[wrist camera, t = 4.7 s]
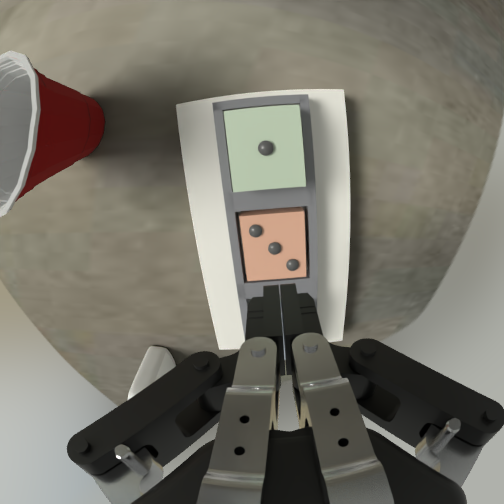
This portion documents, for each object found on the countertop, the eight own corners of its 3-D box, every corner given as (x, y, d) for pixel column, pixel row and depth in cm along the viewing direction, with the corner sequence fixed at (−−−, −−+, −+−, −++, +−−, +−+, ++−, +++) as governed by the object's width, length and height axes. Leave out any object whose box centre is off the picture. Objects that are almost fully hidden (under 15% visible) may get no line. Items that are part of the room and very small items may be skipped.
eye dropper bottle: (187, 356, 29) (161, 446, 18) (171, 380, 31) (146, 459, 20) (152, 339, 29) (114, 425, 18) (140, 365, 31) (107, 442, 20)
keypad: (183, 106, 19) (169, 102, 16) (336, 93, 18) (349, 86, 15) (221, 336, 28) (217, 360, 25) (338, 327, 27) (345, 350, 24)
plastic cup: (148, 76, 18) (55, 43, 7) (114, 195, 22) (21, 248, 11) (59, 66, 17) (-32, 56, 6) (36, 167, 21) (-52, 200, 10)
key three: (240, 210, 20) (239, 217, 19) (301, 205, 20) (304, 211, 18) (248, 271, 22) (247, 282, 21) (303, 267, 22) (306, 277, 20)
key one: (226, 113, 16) (223, 111, 14) (296, 107, 16) (299, 104, 14) (235, 188, 18) (232, 193, 16) (302, 182, 18) (306, 186, 16)
